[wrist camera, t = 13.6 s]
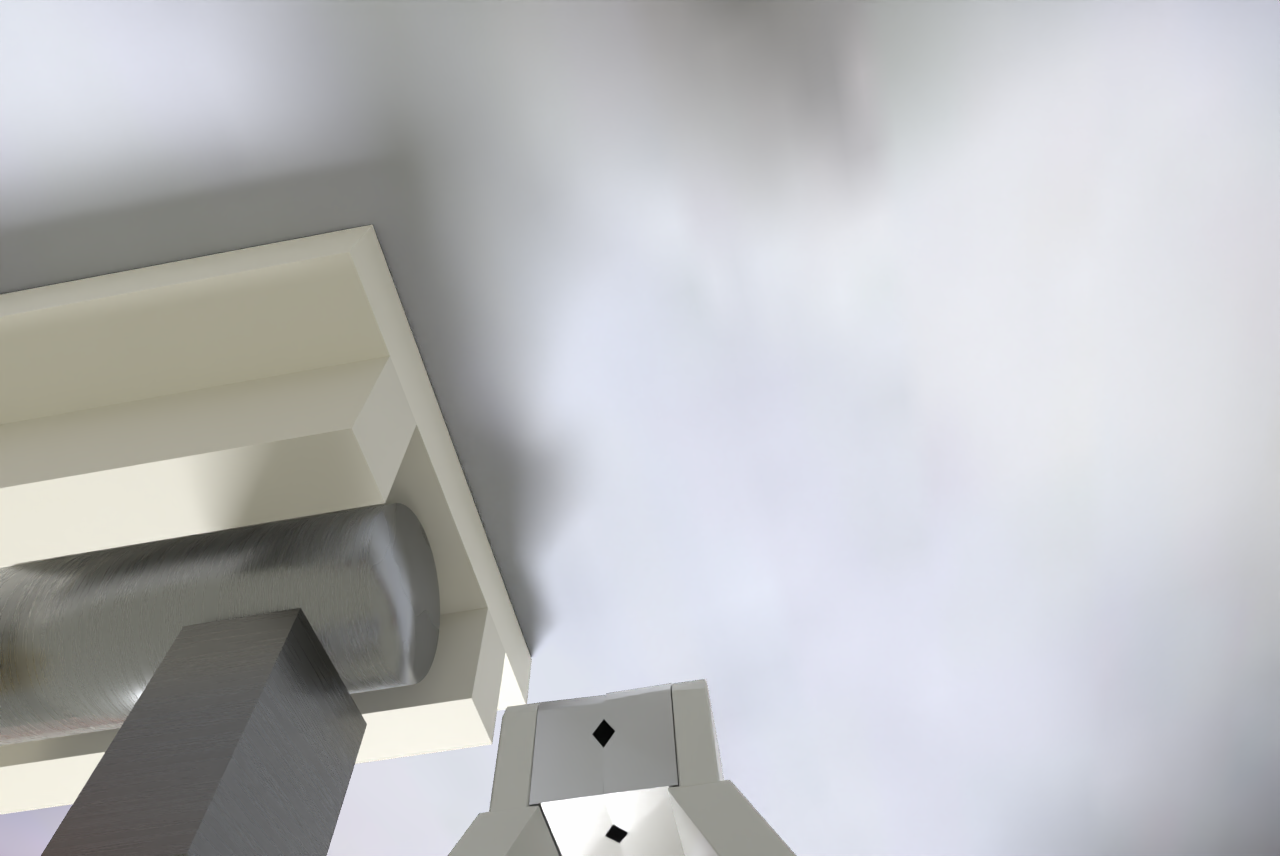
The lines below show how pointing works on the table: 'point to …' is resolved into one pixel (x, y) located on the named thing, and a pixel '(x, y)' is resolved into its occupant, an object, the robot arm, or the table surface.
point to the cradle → (244, 456)
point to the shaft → (218, 676)
